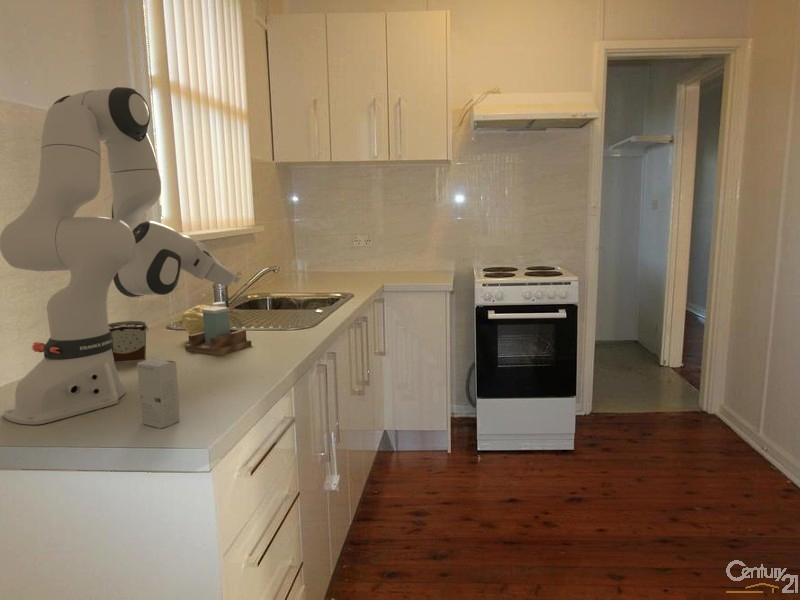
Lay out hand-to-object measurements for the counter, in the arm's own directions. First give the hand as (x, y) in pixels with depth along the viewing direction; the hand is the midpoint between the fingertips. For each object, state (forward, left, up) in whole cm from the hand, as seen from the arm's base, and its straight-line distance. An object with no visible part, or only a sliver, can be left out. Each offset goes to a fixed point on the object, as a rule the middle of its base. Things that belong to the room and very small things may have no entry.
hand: (229, 272), depth 166 cm
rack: (-5, +2, -21) cm, 22 cm away
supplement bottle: (+8, +14, -21) cm, 27 cm away
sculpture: (+2, +14, -21) cm, 26 cm away
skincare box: (-51, -33, -22) cm, 64 cm away
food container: (-24, +16, -22) cm, 36 cm away
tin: (-5, +2, -20) cm, 20 cm away
